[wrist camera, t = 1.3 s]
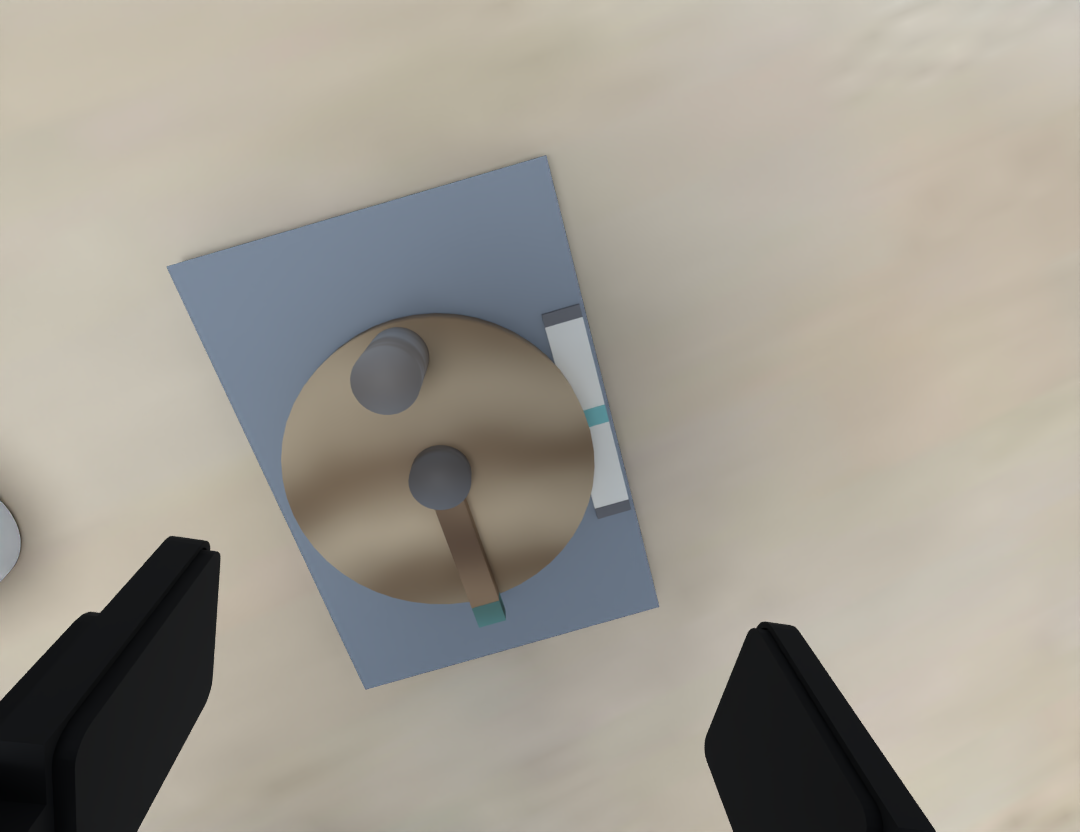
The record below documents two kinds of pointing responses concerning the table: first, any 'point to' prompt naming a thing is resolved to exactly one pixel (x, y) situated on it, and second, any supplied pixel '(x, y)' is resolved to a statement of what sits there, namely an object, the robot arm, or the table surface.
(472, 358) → the crank wheel
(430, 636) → the blue-grey base board
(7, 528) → the cup
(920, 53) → the table surface
